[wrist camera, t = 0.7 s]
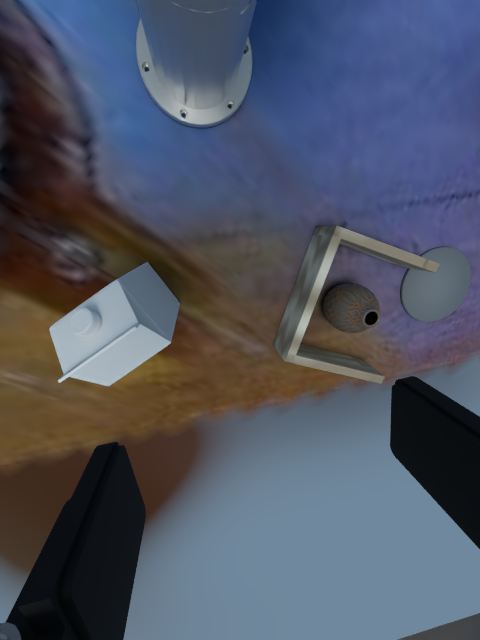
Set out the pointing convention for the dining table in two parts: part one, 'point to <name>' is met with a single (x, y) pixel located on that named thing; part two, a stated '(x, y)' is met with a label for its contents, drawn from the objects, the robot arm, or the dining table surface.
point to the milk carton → (116, 328)
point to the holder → (310, 288)
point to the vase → (351, 308)
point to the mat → (436, 285)
